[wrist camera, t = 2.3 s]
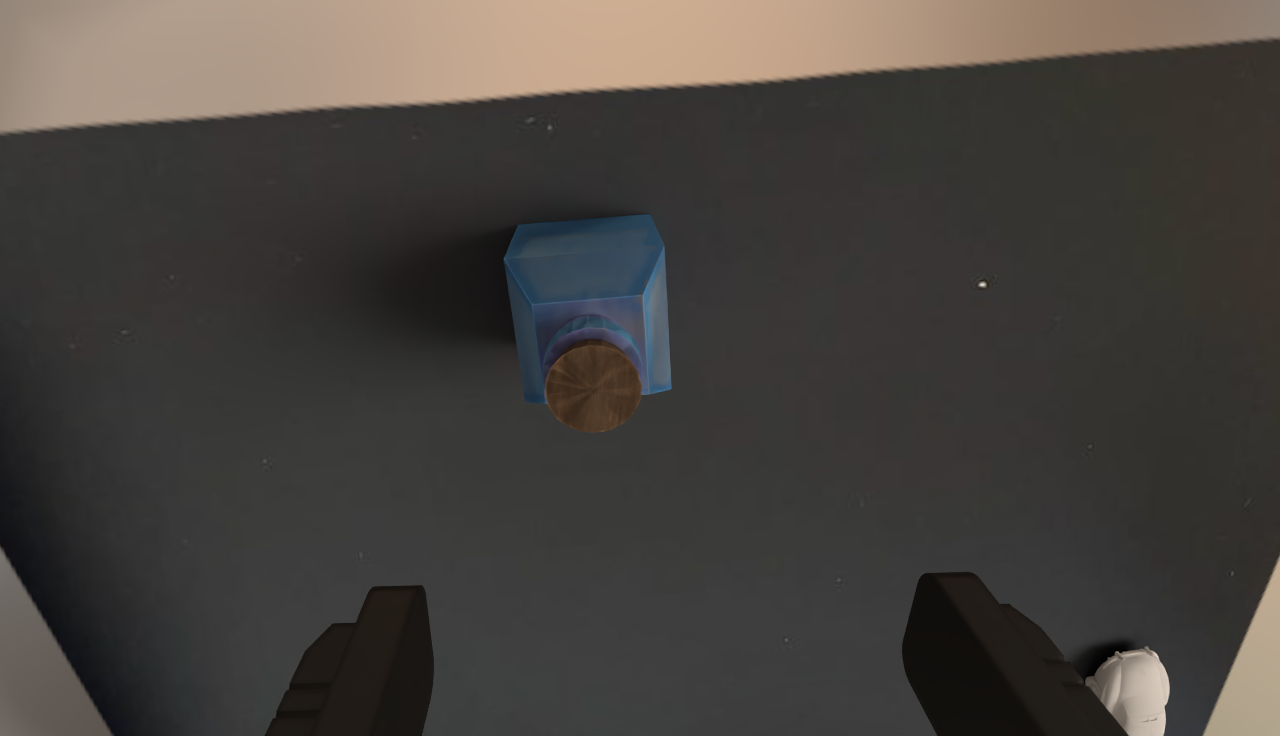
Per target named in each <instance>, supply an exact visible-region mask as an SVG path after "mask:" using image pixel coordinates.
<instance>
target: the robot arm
mask: <svg viewBox="0 0 1280 736" xmlns="http://www.w3.org/2000/svg"><path fill="white" fill-rule="evenodd" d="M902 656H903V663H904V668H905V672H906V675H907V678H908V680H909V683H910V685H911V687H912V688H913V690H914V692H915V694H916V696H917V698H918V700H919V702H920V704H921V705H922V707H923V709H924V711H925V713H926V715H927V717H928V719H929V721H930V722H931V724H932V726H933V728H934V730H935V732H936V734H937V736H1129V735H1128V734H1127V733H1126V731H1125V730H1124V729H1123V728H1122V726H1121V725H1120V724H1119V723H1118V722H1117V720H1116V719H1115V718H1114V717H1113V715H1112V714H1111V713H1110V712H1109V710H1108V709H1107V708H1106V707H1105V706H1104V704H1103V703H1102V702H1101V701H1100V699H1099V698H1098V697H1097V696H1096V695H1095V693H1094V692H1093V691H1092V690H1091V688H1090V687H1089V686H1085V685H1084V683H1083V679H1082V677H1081V676H1080V675H1079V674H1078V673H1077V671H1076V670H1075V669H1074V668H1073V666H1072V665H1071V664H1070V663H1069V662H1065V660H1064V655H1063V654H1062V653H1061V652H1060V650H1059V649H1058V648H1057V647H1056V646H1055V644H1054V643H1053V642H1052V641H1051V639H1050V638H1049V637H1048V636H1047V635H1046V633H1045V632H1044V631H1043V630H1042V628H1041V627H1039V626H1038V625H1037V624H1035V623H1034V622H1033V621H1031V620H1030V619H1029V618H1027V617H1026V616H1024V615H1023V614H1022V613H1020V612H1019V611H1018V610H1016V609H1015V608H1014V607H1012V606H1011V605H1010V604H999V603H998V601H997V600H996V599H995V598H994V596H993V595H992V594H991V592H990V591H989V590H988V589H987V587H986V586H985V585H984V583H983V582H982V581H981V580H980V578H979V577H978V576H976V575H975V574H973V573H971V572H949V573H925V574H923V575H922V576H921V577H920V579H919V581H918V584H917V588H916V592H915V596H914V600H913V604H912V608H911V611H910V615H909V619H908V623H907V627H906V631H905V635H904V639H903V645H902ZM433 676H434V657H433V649H432V641H431V633H430V624H429V616H428V608H427V600H426V593H425V589H424V587H423V586H422V585H415V586H378V587H372V588H371V589H370V591H369V592H368V594H367V597H366V599H365V601H364V604H363V606H362V609H361V611H360V614H359V616H358V618H357V621H356V623H335V624H332V625H331V626H330V627H329V628H328V629H327V630H326V631H325V632H324V633H323V634H322V635H321V636H320V637H319V638H318V639H317V640H316V641H315V642H314V643H313V644H312V645H311V646H310V647H309V648H308V649H307V650H306V651H305V653H304V655H303V657H302V659H301V661H300V663H299V665H298V667H297V669H296V671H295V673H294V676H293V678H292V680H291V682H290V687H289V690H288V691H286V692H285V694H284V696H283V699H282V701H281V703H280V705H279V707H278V709H277V711H276V712H277V714H276V718H274V719H273V720H272V722H271V724H270V726H269V728H268V730H267V732H266V734H265V736H422V733H423V729H424V724H425V720H426V716H427V712H428V708H429V704H430V699H431V694H432V687H433Z"/></svg>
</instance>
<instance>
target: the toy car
mask: <svg viewBox="0 0 1280 736" xmlns="http://www.w3.org/2000/svg"><path fill="white" fill-rule="evenodd" d="M1154 656H1155V657H1154ZM1107 659H1108V660H1107V661H1105V662H1104V663H1103V664H1102V665H1101V666H1100V667H1099V668H1098V669H1097V671H1096V673H1095V676H1090V677H1087V678H1086V680H1085V685H1086V686H1089V687H1090V688H1091V690H1092V691H1093V692H1094V693H1095V695H1096V696H1097V697H1098V698H1099V699H1100V701H1101V702H1102V703H1103V704H1104V706H1105V707H1106V708H1107V709H1108V710H1109V712H1110V713H1111V714H1112V715H1113V717H1114V718H1115V719H1116V720H1117V722H1118V723H1119V724H1120V725H1121V726H1122V728H1123V729H1124V730H1125V731H1126V733H1127V734H1128V735H1129V736H1163V734H1164V730H1165V723H1166V717H1165V709H1164V706H1165V705H1166V703H1167V701H1168V697H1169V681H1168V676H1167V673H1166V670H1165V668H1164V666H1163V665H1162V663H1161V662H1160V661H1159V657H1158V655H1157V654H1156V653H1155V652H1153V651H1151V650H1149V647H1148V646H1146V647H1144V649H1140V650H1132V651H1127V652H1124V651H1123V653H1119V652H1118V651H1116V652H1115V655H1114V656H1112V657H1111V658H1110V657H1108V658H1107ZM1094 685H1095V686H1094Z"/></svg>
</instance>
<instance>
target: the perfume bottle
mask: <svg viewBox="0 0 1280 736" xmlns="http://www.w3.org/2000/svg"><path fill="white" fill-rule="evenodd" d="M504 264H505V271H506V277H507V284H508V291H509V297H510V304H511V310H512V317H513V324H514V330H515V337H516V343H517V350H518V357H519V363H520V370H521V376H522V383H523V390H524V396H525V402H527V403H543V404H547V403H548V406H549V408H550V410H551V411H552V412H553V414H554V415H555V416H556V418H557V419H558V420H560V421H561V422H563V423H564V424H565V425H567V426H568V427H570V428H573V429H576V430H579V431H582V432H602V431H606V430H611V429H613V428H615V427H617V426H619V425H621V424H622V423H624V422H625V421H626V420H627V419H628V418H629V417H630V416H631V415H632V414H633V413H634V412H635V410H636V408H637V406H638V404H639V401H640V399H641V395H645V394H652V393H657V392H661V391H665V390H670V389H671V371H670V351H669V331H668V311H667V291H666V271H665V251H664V244H663V242H662V240H661V237H660V235H659V233H658V231H657V228H656V226H655V224H654V222H653V219H652V217H651V215H650V214H645V215H632V216H620V217H607V218H595V219H582V220H570V221H557V222H545V223H532V224H520V225H518V227H517V229H516V231H515V234H514V236H513V238H512V241H511V243H510V245H509V248H508V250H507V252H506V255H505V257H504Z"/></svg>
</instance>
